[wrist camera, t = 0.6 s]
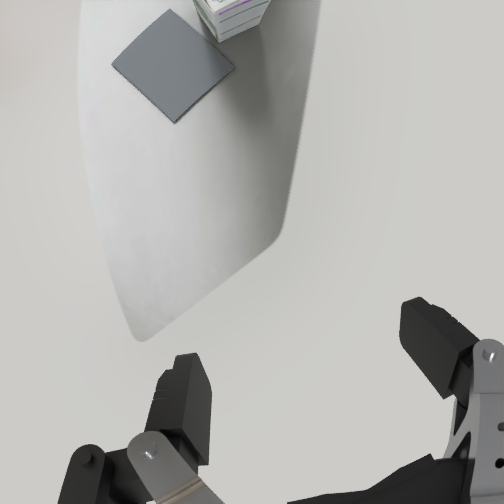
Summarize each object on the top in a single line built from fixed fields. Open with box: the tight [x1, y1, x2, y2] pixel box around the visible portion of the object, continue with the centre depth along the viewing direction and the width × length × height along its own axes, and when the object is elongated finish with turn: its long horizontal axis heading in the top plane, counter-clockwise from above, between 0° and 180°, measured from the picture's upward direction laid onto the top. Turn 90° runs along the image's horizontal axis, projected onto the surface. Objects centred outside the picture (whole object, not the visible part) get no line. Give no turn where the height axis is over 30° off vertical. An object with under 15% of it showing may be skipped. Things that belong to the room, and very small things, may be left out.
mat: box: [111, 9, 235, 122], centre depth 27 cm, size 12×10×1 cm
